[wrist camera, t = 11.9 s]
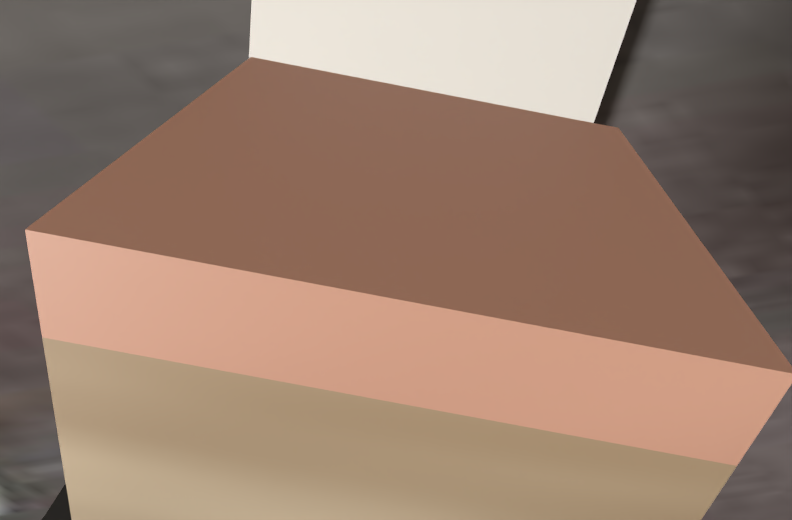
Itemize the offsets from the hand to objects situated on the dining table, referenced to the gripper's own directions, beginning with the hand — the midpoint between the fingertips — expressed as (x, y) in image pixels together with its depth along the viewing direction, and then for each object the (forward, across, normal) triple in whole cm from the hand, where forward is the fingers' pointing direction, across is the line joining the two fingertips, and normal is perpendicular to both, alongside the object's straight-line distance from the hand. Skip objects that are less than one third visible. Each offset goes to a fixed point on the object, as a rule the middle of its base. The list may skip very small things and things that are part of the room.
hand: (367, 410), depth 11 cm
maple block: (-2, 0, +6) cm, 7 cm away
